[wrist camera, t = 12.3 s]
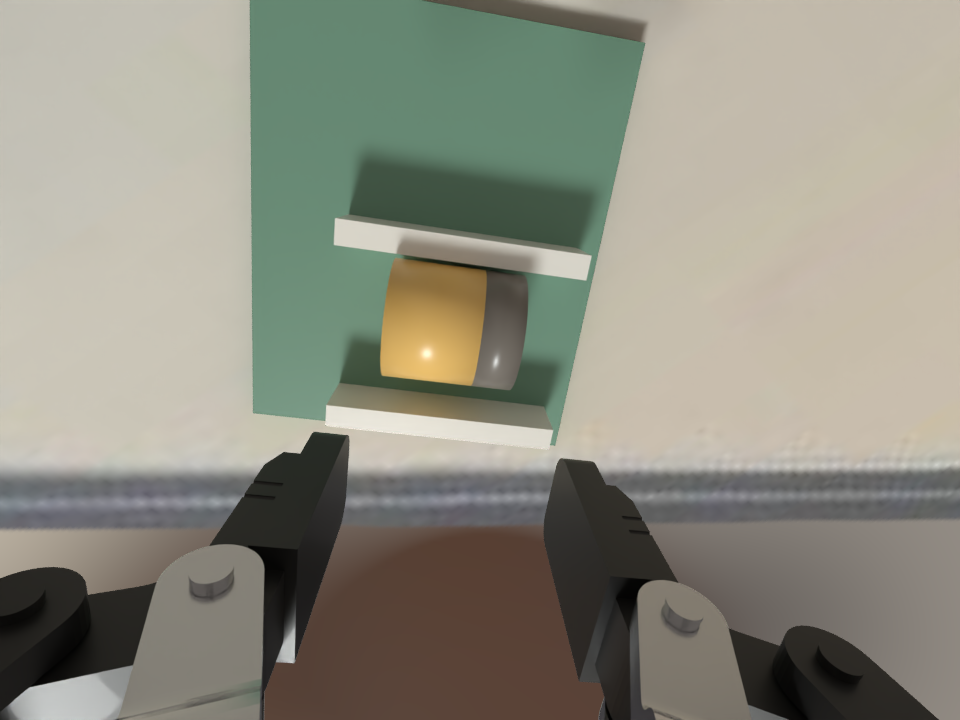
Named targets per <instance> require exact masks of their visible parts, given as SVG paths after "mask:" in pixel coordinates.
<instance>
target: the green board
mask: <svg viewBox="0 0 960 720" xmlns="http://www.w3.org/2000/svg"><path fill="white" fill-rule="evenodd" d="M644 47H645V43H643V42H638V41H633V40H627V39H622V38H617V37H612V36H607V35H601V34H596V33H591V32H586V31H580V30H575V29H570V28H565V27H559V26H554V25H549V24H544V23H538V22H533V21H528V20H523V19H518V18H512V17H507V16H502V15H497V14H491V13H486V12H481V11H476V10H470V9H465V8H460V7H455V6H449V5H444V4H439V3H434V2H428V1H423V0H250V86H251V213H252V340H253V413H257V414H266V415H275V416H285V417H294V418H303V419H312V420H322V421H326V405H327V403H328V401H329V400H330V398H331V396H332V395H333V393H334V391H335V389H336V388H337V386H338V384H339V383H344V384H353V385H362V386H370V387H379V388H388V389H397V390H405V391H414V392H423V393H431V394H440V395H449V396H457V397H466V398H475V399H483V400H492V401H501V402H510V403H518V404H527V405H536V406H544V408H545V411H546V413H547V416H548V418H549V421H550V423H551V426H552V428H553V434H552V438H551V443H550V445H554V446H555V444H556V439H557V435H558V430H559V426H560V421H561V417H562V412H563V408H564V403H565V399H566V394H567V390H568V386H569V381H570V377H571V372H572V368H573V363H574V359H575V354H576V350H577V345H578V341H579V336H580V332H581V328H582V323H583V319H584V314H585V310H586V305H587V301H588V296H589V292H590V287H591V283H592V278H593V274H594V270H595V265H596V261H597V256H598V252H599V247H600V243H601V238H602V234H603V229H604V225H605V220H606V216H607V212H608V207H609V203H610V198H611V194H612V189H613V185H614V180H615V176H616V171H617V167H618V162H619V158H620V154H621V149H622V145H623V140H624V136H625V131H626V127H627V122H628V118H629V113H630V109H631V105H632V100H633V96H634V91H635V87H636V82H637V78H638V73H639V69H640V64H641V60H642V55H643V51H644ZM348 214H350V215H356V216H363V217H370V218H377V219H384V220H390V221H397V222H404V223H411V224H418V225H424V226H431V227H438V228H445V229H451V230H458V231H465V232H472V233H479V234H485V235H492V236H499V237H506V238H513V239H519V240H526V241H533V242H540V243H546V244H553V245H560V246H567V247H574V248H578V249H580V250H582V251H584V252H586V253H588V254H589V255H591V256H592V257H591V261H590V266H589V270H588V275H587V279H586V281H585V280H578V279H571V278H564V277H557V276H550V275H543V274H536V273H529V272H522V271H515V270H507V269H500V268H493V267H486V266H479V265H472V264H465V263H458V262H451V261H444V260H437V259H430V258H422V257H415V256H408V255H401V254H394V253H387V252H380V251H373V250H366V249H359V248H352V247H344V246H337V245H334V229H335V218H337V217H341V216H344V215H348ZM395 258H402V259H409V260H416V261H424V262H431V263H438V264H445V265H453V266H460V267H467V268H474V269H482V270H489V271H496V272H503V273H511V274H518V275H525V276H526V279H527V283H528V316H527V327H526V335H525V342H524V348H523V354H522V359H521V363H520V367H519V371H518V375H517V378H516V381H515V383H514V385H513V387H512V389H511V390H502V389H493V388H485V387H476V386H467V385H458V384H450V383H441V382H432V381H424V380H415V379H406V378H398V377H389V376H382V374H381V366H380V354H381V336H382V325H383V315H384V307H385V300H386V293H387V287H388V281H389V276H390V272H391V268H392V264H393V261H394V259H395Z"/></svg>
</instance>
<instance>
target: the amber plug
mask: <svg viewBox="0 0 960 720" xmlns="http://www.w3.org/2000/svg"><path fill="white" fill-rule="evenodd" d="M527 316H528V283H527V279H526V276H525V275H518V274H511V273H503V272H496V271H489V270H482V269H474V268H467V267H460V266H453V265H445V264H438V263H431V262H424V261H416V260H409V259H402V258H395V259H394V261H393V264H392V268H391V272H390V276H389V281H388V287H387V293H386V300H385V307H384V315H383V325H382V336H381V354H380V366H381V374H382V376H389V377H398V378H406V379H415V380H424V381H432V382H441V383H450V384H458V385H467V386H476V387H485V388H493V389H502V390H511V389H512V387H513V385H514V383H515V381H516V378H517V375H518V371H519V367H520V363H521V359H522V354H523V348H524V342H525V335H526V327H527Z"/></svg>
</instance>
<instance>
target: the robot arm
mask: <svg viewBox="0 0 960 720" xmlns="http://www.w3.org/2000/svg"><path fill="white" fill-rule="evenodd" d="M348 458H349V436H348V435H339V434H330V433H320V432H313V433H312V435H311V436H310V438H309V440H308V442H307V443H306V445H305V447H304V449H303V450H302V452H301V454H297V453H287V452H283V453H282V454H280V455H279V456H277V457H276V458H274V459H273V460H271V461H269V462H268V463H266V464H265V465H264V466H263V468H262V469H261V471H260V472H259V474H258V475H257V477H256V478H255V479H254V483H253V484H251V485H250V487H249V488H248V490H247V491H246V493H245V496H244V497H242V499H241V500H240V502H239V503H238V504H237V506H236V507H235V509H234V510H233V512H232V513H231V515H230V516H229V518H228V519H227V521H226V522H225V524H224V525H223V527H222V528H221V529H220V531H219V532H218V534H217V536H216V537H215V538H214V540H213V541H212V543H211V544H210V546H208V547H204V548H201V549H198V550H195V551H192V552H190V553H188V554H187V555H184V556H182V557H181V558H179V559H178V560H176V561H174V562H173V563H172V564H171V565H170V566H169V567H167V569H166V570H165V571H164V572H163V573H162V574H161V576H160V577H159V579H158V581H157V582H156V583H153V584H149V585H145V586H140V587H135V588H128V589H123V590H116V591H110V592H104V593H97V594H91V595H88V594H87V588H86V582H85V580H84V579H83V577H82V576H81V575H80V574H78V573H77V572H75V571H73V570H70V569H65V568H58V567H48V568H47V567H45V568H37V569H30V570H26V571H22V572H18V573H15V574H11V575H8V576H6V577H3V578H0V720H264V691H265V689H266V687H267V684H268V682H269V679H270V676H271V674H272V671H273V668H274V666H275V663H276V662H286V663H295V660H296V657H297V654H298V651H299V648H300V645H301V642H302V639H303V636H304V633H305V630H306V627H307V624H308V621H309V618H310V615H311V612H312V609H313V606H314V603H315V600H316V597H317V594H318V591H319V588H320V585H321V582H322V579H323V577H324V574H325V571H326V568H327V565H328V562H329V559H330V555H331V552H332V549H333V547H334V543H335V541H336V538H337V534H338V532H339V529H340V526H341V522H342V518H343V513H344V508H345V500H346V488H347V473H348ZM544 542H545V547H546V551H547V555H548V559H549V563H550V567H551V571H552V575H553V579H554V583H555V587H556V591H557V595H558V599H559V603H560V607H561V611H562V615H563V619H564V623H565V627H566V631H567V635H568V639H569V643H570V647H571V651H572V655H573V659H574V663H575V667H576V671H577V675H578V679H579V681H580V682H597V683H601V687H602V690H603V693H604V700H603V703H602V706H601V709H600V713H599V720H939V719H937V718H936V717H935V716H934V715H933V714H932V713H931V712H929V711H928V710H927V709H926V708H925V707H924V706H923V705H922V704H921V703H919V702H918V701H917V700H916V699H915V698H914V697H913V696H911V695H910V694H909V693H908V692H907V691H906V690H904V688H903V687H901V686H900V685H899V684H898V683H897V682H896V681H895V680H893V679H892V678H891V677H890V676H889V675H888V674H887V673H886V672H885V671H883V670H882V669H881V668H880V667H879V666H878V665H877V664H876V663H874V662H873V661H872V660H871V659H870V658H869V657H867V656H866V655H865V654H864V653H863V652H862V651H860V650H859V649H858V648H856V647H855V646H853V645H852V644H850V643H849V642H847V641H845V640H844V639H842V638H840V637H838V636H836V635H834V634H832V633H829V632H827V631H825V630H821V629H819V628H815V627H810V626H796V627H793V628H791V629H789V630H788V631H787V633H786V634H785V636H784V638H783V641H782V643H781V645H780V646H778V645H775V644H772V643H769V642H766V641H763V640H760V639H757V638H754V637H751V636H749V635H745V634H742V633H739V632H737V631H734V630H731V629H729V628H728V626H727V623H726V621H725V619H724V617H723V616H722V614H721V613H720V611H719V610H718V609H717V608H716V607H715V606H714V605H713V604H712V603H711V602H710V601H709V600H708V599H707V598H705V597H704V596H703V595H701V594H700V593H698V592H697V591H695V590H693V589H691V588H689V587H687V586H685V585H682V584H680V583H678V581H677V580H676V578H675V576H674V574H673V573H672V571H671V569H670V567H669V565H668V564H667V562H666V560H665V558H664V556H663V555H662V553H661V551H660V549H659V547H658V546H657V544H656V542H655V541H654V539H653V537H652V536H651V535H650V534H649V530H648V528H647V526H646V524H645V523H644V521H642V517H641V515H640V514H639V512H638V510H637V508H636V506H635V505H634V503H633V501H632V500H631V499H630V498H628V497H627V496H626V495H625V494H624V493H623V492H622V491H621V490H619V489H618V488H617V487H616V486H610V485H606V484H605V482H604V480H603V478H602V476H601V474H600V472H599V470H598V468H597V466H596V464H595V463H594V462H592V461H582V460H573V459H563V458H561V459H560V460H559V461H558V463H557V466H556V470H555V474H554V479H553V483H552V487H551V492H550V496H549V501H548V505H547V509H546V514H545V519H544Z"/></svg>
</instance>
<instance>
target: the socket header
mask: <svg viewBox="0 0 960 720" xmlns="http://www.w3.org/2000/svg"><path fill="white" fill-rule="evenodd" d="M334 245H337V246H344V247H352V248H359V249H366V250H373V251H380V252H387V253H394V254H401V255H408V256H415V257H422V258H430V259H437V260H444V261H451V262H458V263H465V264H472V265H479V266H486V267H493V268H500V269H507V270H515V271H522V272H529V273H536V274H543V275H550V276H557V277H564V278H571V279H578V280H585V281H586V279H587V275H588V270H589V266H590V261H591V257H592V256H591V255H589V254H588V253H586V252H584V251H582V250H580V249H578V248H574V247H567V246H560V245H553V244H546V243H540V242H533V241H526V240H519V239H513V238H506V237H499V236H492V235H485V234H479V233H472V232H465V231H458V230H451V229H445V228H438V227H431V226H424V225H418V224H411V223H404V222H397V221H390V220H384V219H377V218H370V217H363V216H356V215H350V214H348V215H344V216H341V217H337V218H335V229H334ZM325 426H331V427H340V428H350V429H359V430H368V431H378V432H387V433H397V434H406V435H415V436H425V437H434V438H444V439H453V440H462V441H472V442H481V443H490V444H500V445H509V446H519V447H528V448H537V449H547V450H549V447H550V443H551V438H552V434H553V428H552V426H551V423H550V421H549V418H548V416H547V413H546V411H545V408H544V406H536V405H527V404H518V403H510V402H501V401H492V400H483V399H475V398H466V397H457V396H449V395H440V394H431V393H423V392H414V391H405V390H397V389H388V388H379V387H370V386H362V385H353V384H344V383H339V384H338V386H337V388H336V389H335V391H334V393H333V395H332V396H331V398H330V400H329V401H328V403H327V405H326V422H325Z"/></svg>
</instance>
